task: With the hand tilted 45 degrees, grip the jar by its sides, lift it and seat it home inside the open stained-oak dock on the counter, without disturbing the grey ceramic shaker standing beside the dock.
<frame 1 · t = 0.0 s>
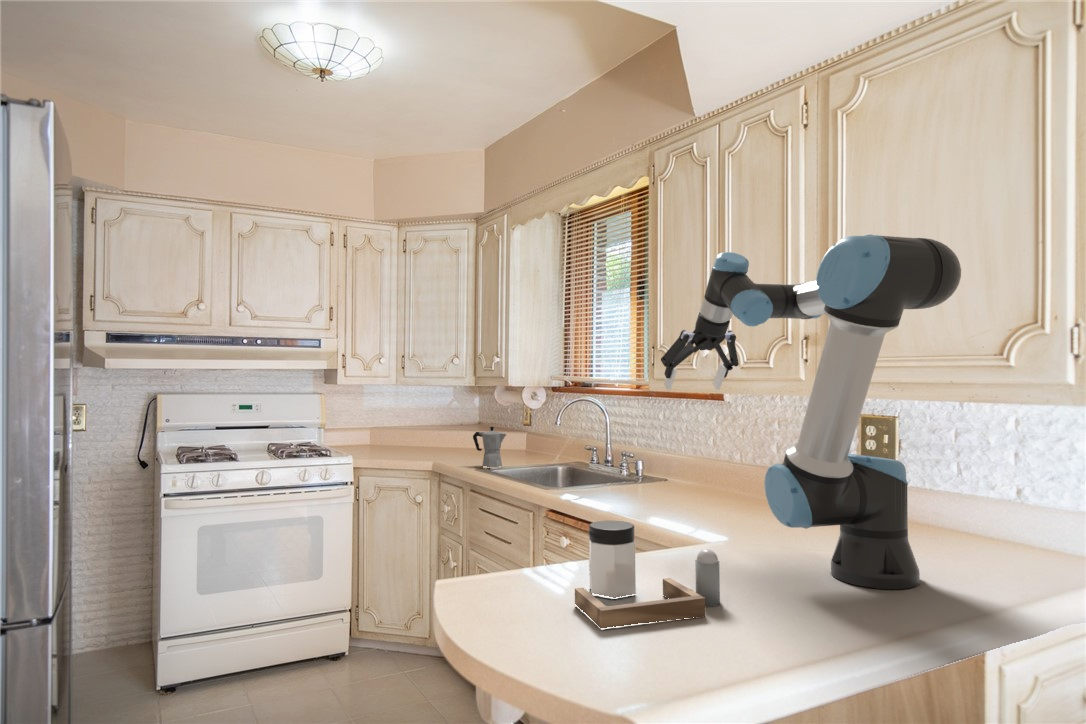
hand: (691, 387, 171), 36 cm above the worktop, tool tilted 35°, fingers open, 13 cm apart
dock: (636, 610, 111), on the worktop
coffeepot: (489, 468, 291), on the worktop
shaker: (707, 602, 114), on the worktop
jar: (612, 593, 120), on the worktop
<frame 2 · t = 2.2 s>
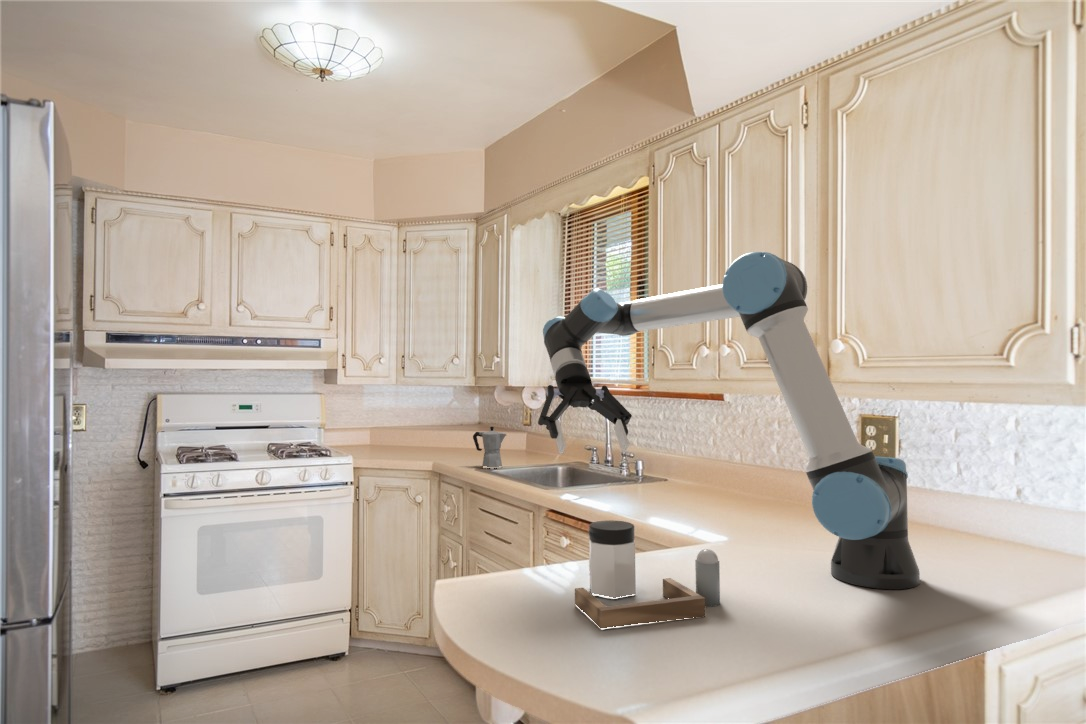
hand: (594, 449, 135), 24 cm above the worktop, tool tilted 45°, fingers open, 13 cm apart
nothing on the worktop moved.
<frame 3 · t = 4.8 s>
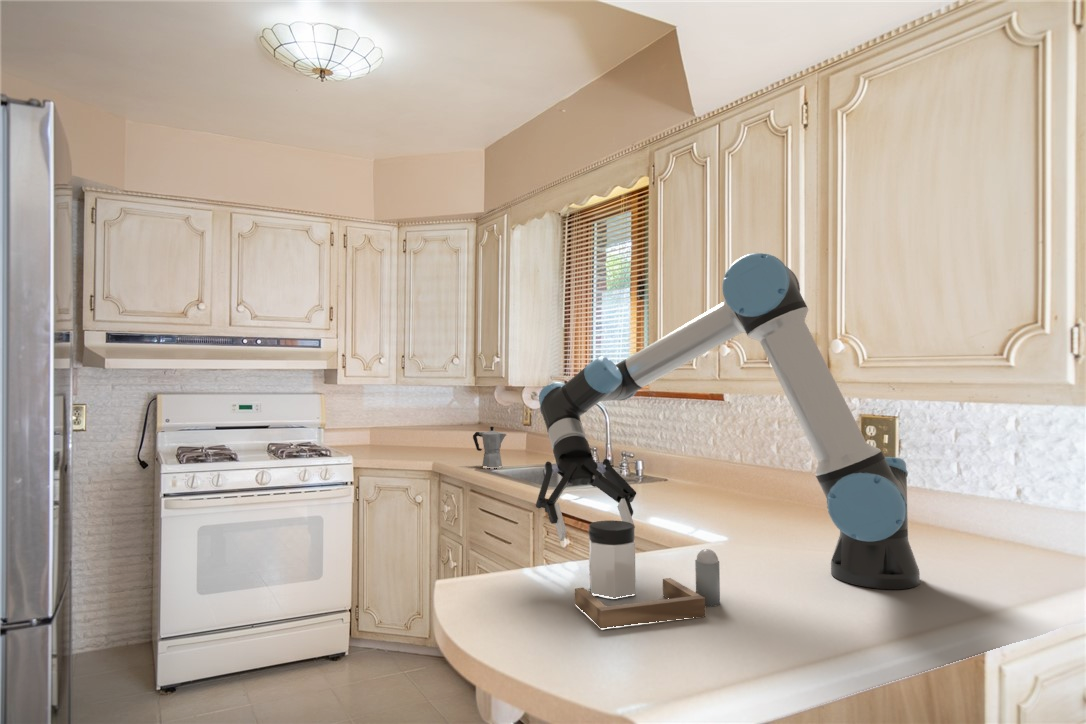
hand: (597, 534, 125), 9 cm above the worktop, tool tilted 45°, fingers open, 13 cm apart
nothing on the worktop moved.
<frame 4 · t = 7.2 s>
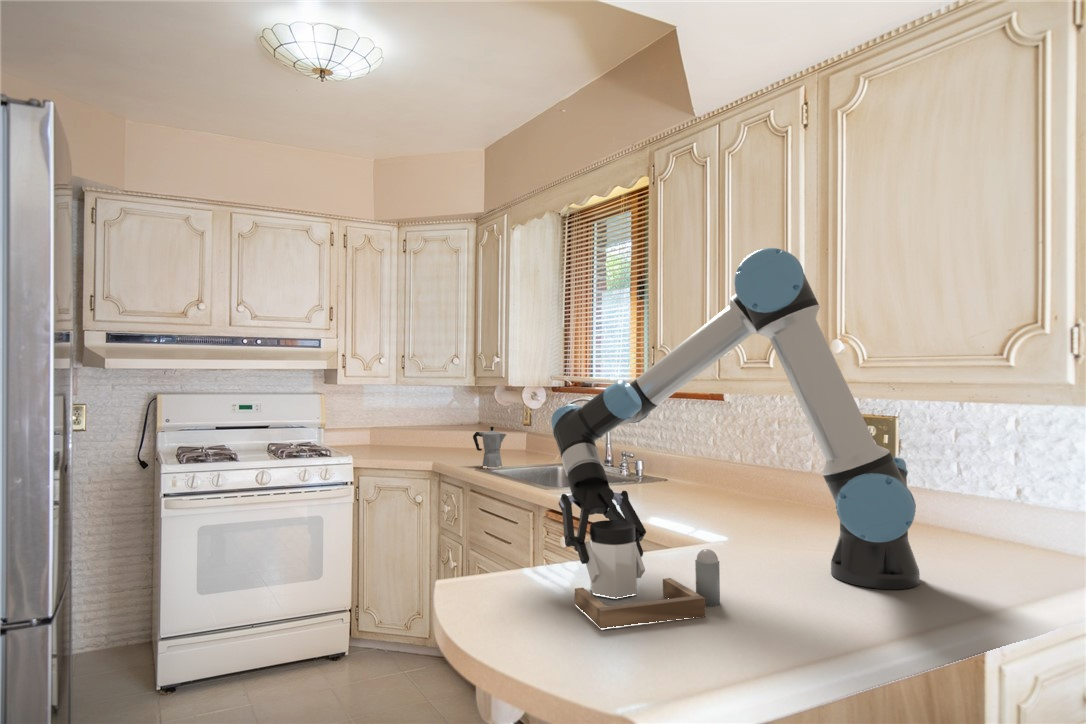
hand: (618, 576, 117), 4 cm above the worktop, tool tilted 45°, fingers closed on jar, 8 cm apart
jar: (613, 593, 120), on the worktop, touching gripper
everything else where it was.
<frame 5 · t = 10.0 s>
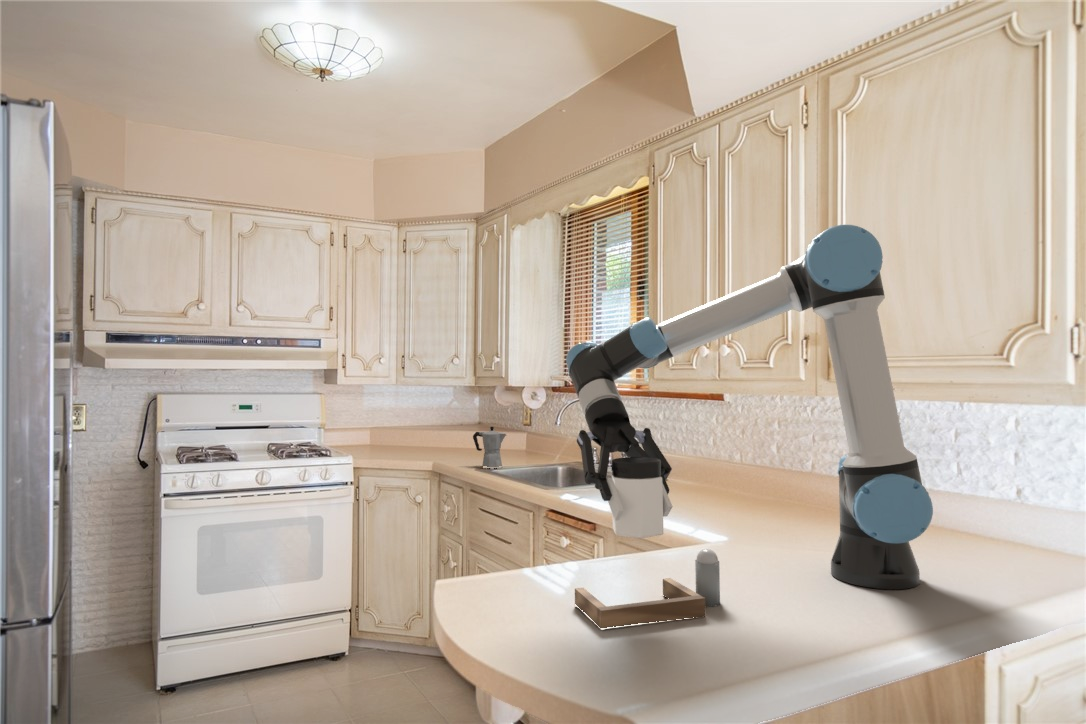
hand: (643, 513, 108), 16 cm above the worktop, tool tilted 45°, fingers closed on jar, 8 cm apart
jar: (637, 533, 111), point 13 cm above the worktop, touching gripper
everything else where it was.
when the fingers open (6 cm above the worktop, at t = 12.9 s): jar drops 2 cm, on the worktop.
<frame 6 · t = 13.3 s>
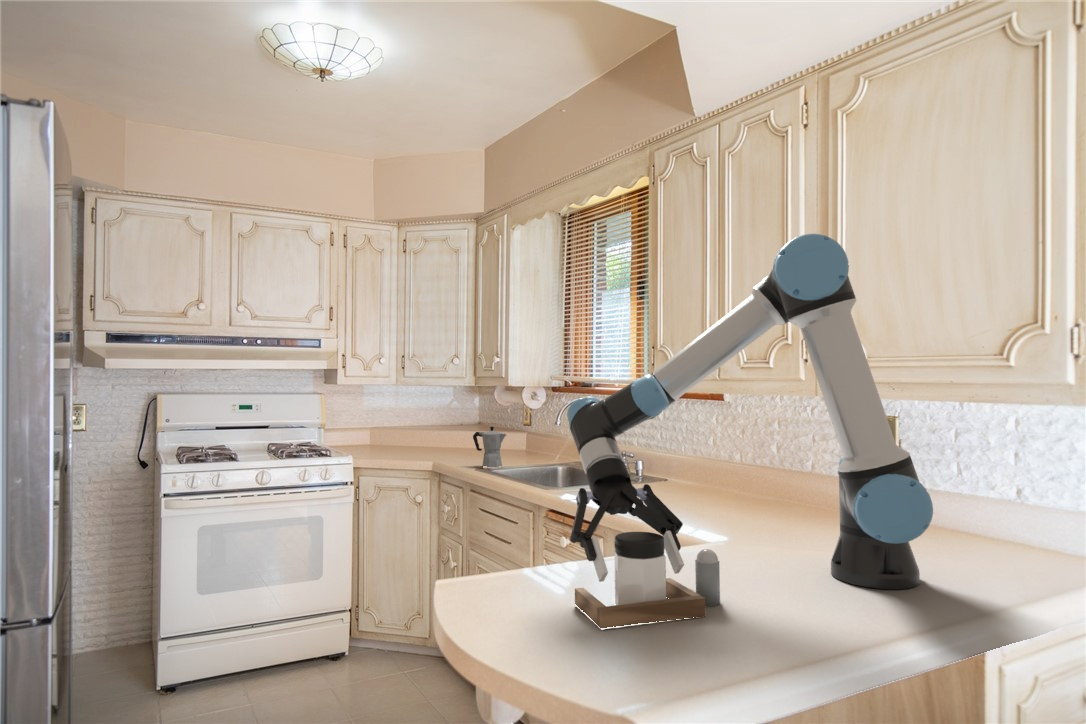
hand: (642, 573, 109), 7 cm above the worktop, tool tilted 45°, fingers open, 13 cm apart
jar: (640, 611, 111), on the worktop
everything else where it was.
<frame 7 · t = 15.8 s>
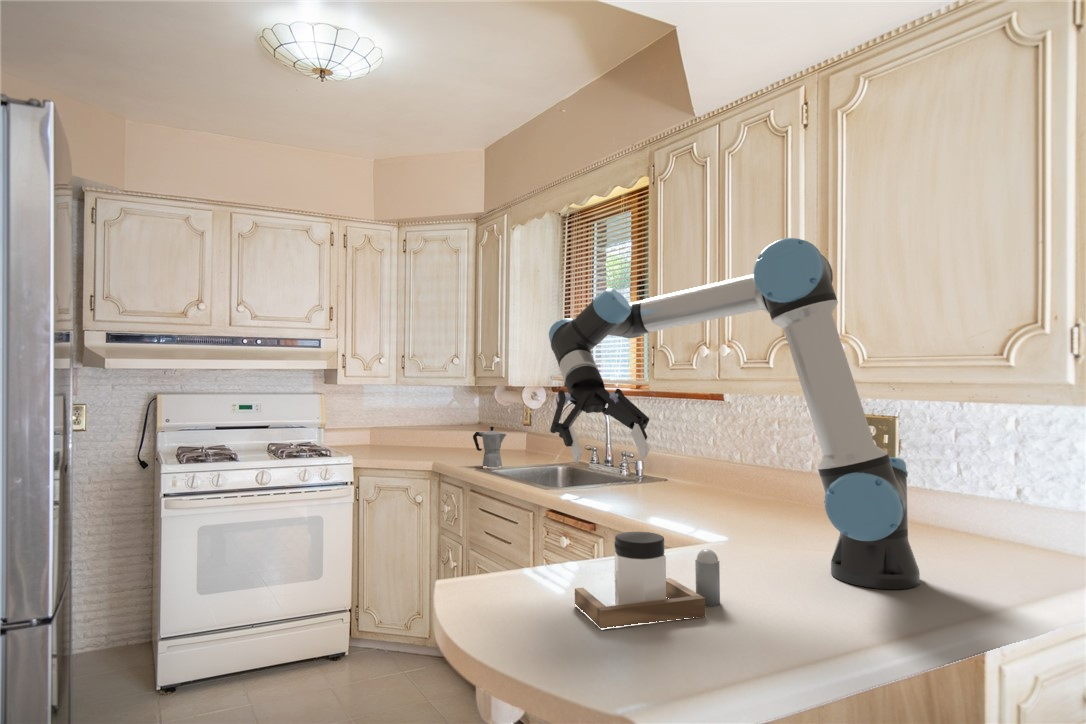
hand: (612, 456, 125), 24 cm above the worktop, tool tilted 45°, fingers open, 13 cm apart
nothing on the worktop moved.
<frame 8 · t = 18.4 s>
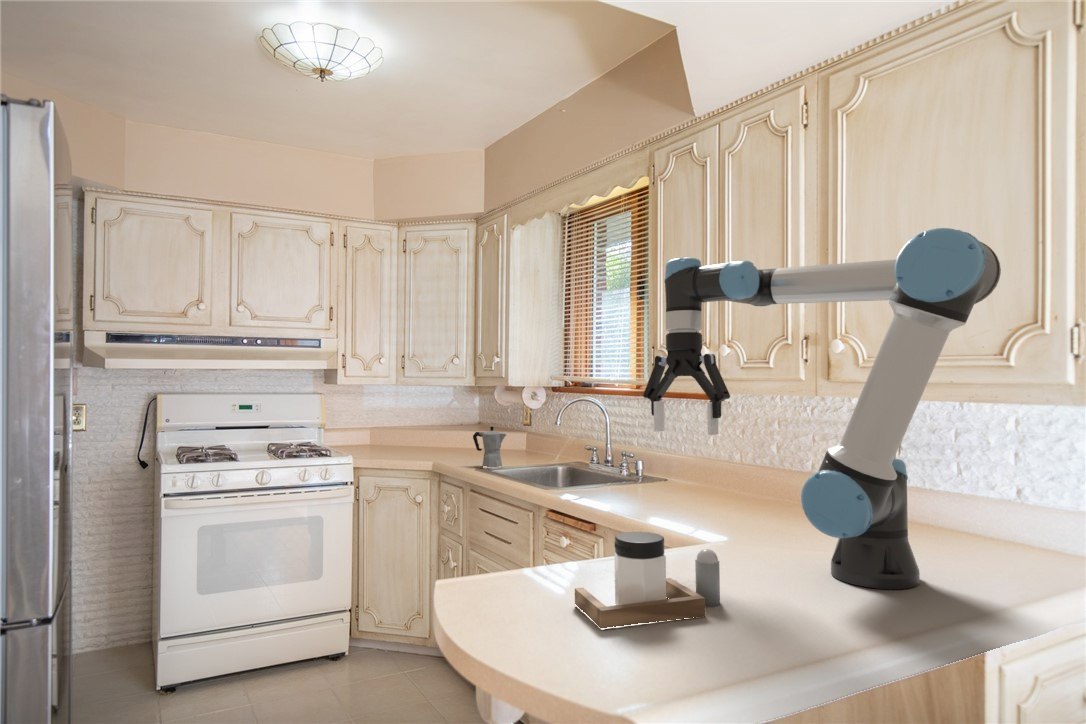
hand: (685, 432, 141), 27 cm above the worktop, tool pointing down, fingers open, 13 cm apart
nothing on the worktop moved.
at the end: jar 0.7 cm from the dock (horizontally); jar tilted 0°; shaker moved 0.0 cm from its start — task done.
